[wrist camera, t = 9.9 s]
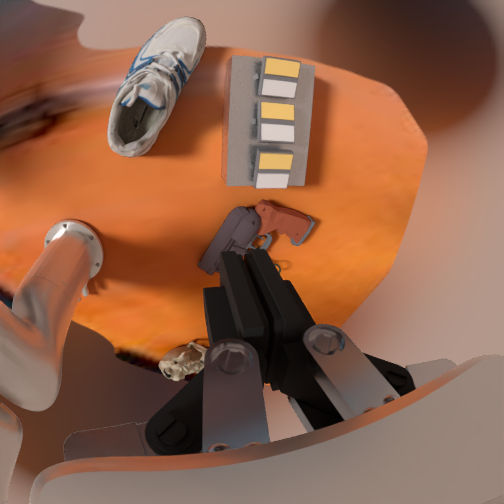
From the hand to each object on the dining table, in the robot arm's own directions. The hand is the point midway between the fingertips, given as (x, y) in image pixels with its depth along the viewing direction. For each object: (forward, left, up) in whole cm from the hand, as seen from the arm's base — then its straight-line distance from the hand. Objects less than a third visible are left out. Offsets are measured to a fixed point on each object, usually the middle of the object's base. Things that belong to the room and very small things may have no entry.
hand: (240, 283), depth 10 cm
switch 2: (+5, -10, -27) cm, 29 cm away
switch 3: (-1, -10, -27) cm, 29 cm away
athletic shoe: (+11, +6, -36) cm, 38 cm away
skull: (-46, +2, -35) cm, 58 cm away
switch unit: (+5, -10, -35) cm, 37 cm away
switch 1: (+12, -10, -27) cm, 31 cm away
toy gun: (-17, -10, -36) cm, 41 cm away
